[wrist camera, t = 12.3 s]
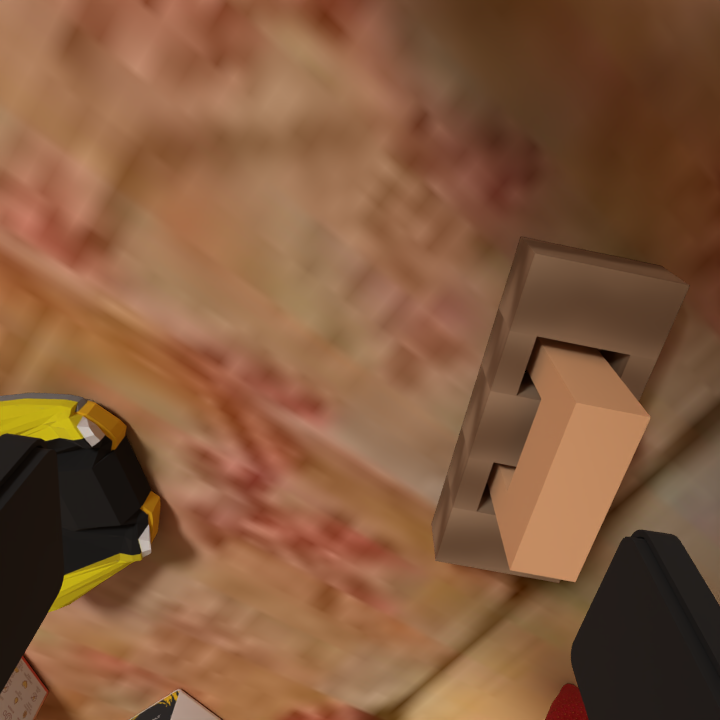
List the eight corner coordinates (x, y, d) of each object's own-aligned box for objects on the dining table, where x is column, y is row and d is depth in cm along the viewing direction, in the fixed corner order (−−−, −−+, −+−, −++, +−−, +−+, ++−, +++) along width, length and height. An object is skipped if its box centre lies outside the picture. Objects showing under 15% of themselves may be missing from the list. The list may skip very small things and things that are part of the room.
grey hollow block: (520, 236, 34) (535, 253, 31) (661, 266, 34) (689, 285, 31) (431, 524, 42) (435, 560, 39) (545, 545, 43) (558, 583, 39)
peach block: (532, 328, 36) (576, 402, 28) (590, 340, 36) (651, 417, 28) (483, 469, 40) (509, 570, 32) (536, 479, 40) (575, 582, 32)
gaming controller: (59, 569, 45) (187, 545, 44) (18, 630, 40) (162, 606, 39) (-45, 389, 39) (100, 356, 38) (-108, 435, 34) (57, 399, 33)
